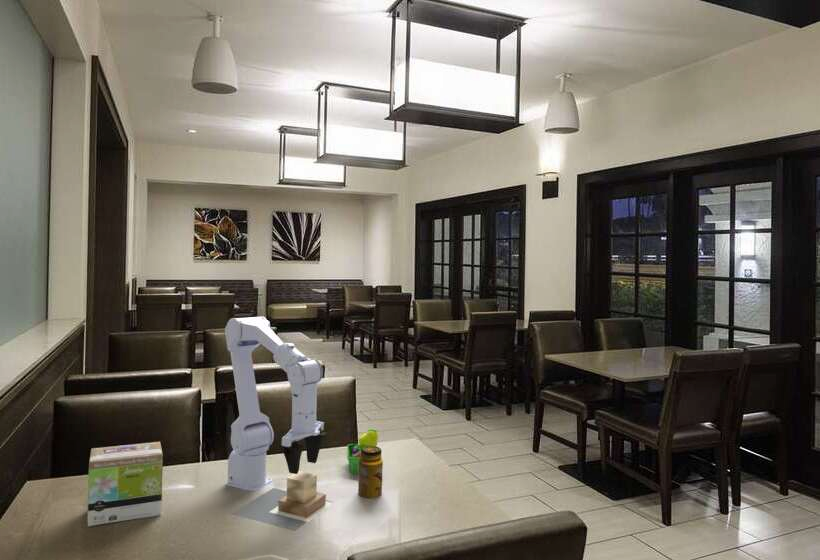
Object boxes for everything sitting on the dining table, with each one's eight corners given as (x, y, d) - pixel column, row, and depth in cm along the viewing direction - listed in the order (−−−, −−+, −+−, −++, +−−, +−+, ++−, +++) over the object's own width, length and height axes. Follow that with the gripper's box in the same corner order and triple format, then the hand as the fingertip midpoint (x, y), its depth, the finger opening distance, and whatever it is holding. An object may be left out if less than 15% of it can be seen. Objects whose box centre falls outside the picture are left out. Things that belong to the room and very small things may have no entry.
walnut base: (278, 510, 132) (278, 500, 132) (298, 497, 139) (298, 487, 139) (306, 517, 128) (307, 507, 128) (325, 504, 136) (325, 494, 136)
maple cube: (286, 498, 133) (287, 477, 132) (299, 490, 137) (299, 470, 137) (304, 503, 130) (304, 482, 130) (316, 495, 135) (316, 474, 135)
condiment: (388, 497, 142) (389, 450, 141) (358, 504, 137) (359, 456, 137) (374, 487, 148) (375, 442, 148) (345, 493, 143) (346, 447, 143)
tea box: (86, 529, 121) (87, 462, 121) (89, 510, 130) (89, 447, 130) (162, 516, 128) (163, 452, 128) (159, 498, 137) (160, 439, 137)
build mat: (230, 514, 130) (230, 513, 130) (273, 489, 144) (273, 487, 144) (296, 532, 122) (296, 530, 122) (335, 503, 137) (335, 502, 137)
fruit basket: (346, 460, 166) (347, 423, 166) (376, 460, 167) (377, 423, 167) (346, 475, 155) (347, 435, 155) (378, 475, 156) (379, 435, 156)
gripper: (300, 421, 125) (299, 481, 125) (334, 406, 138) (333, 460, 138) (274, 416, 127) (273, 475, 128) (310, 402, 141) (309, 455, 141)
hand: (302, 467), depth 133 cm, fingers open, 7 cm apart
